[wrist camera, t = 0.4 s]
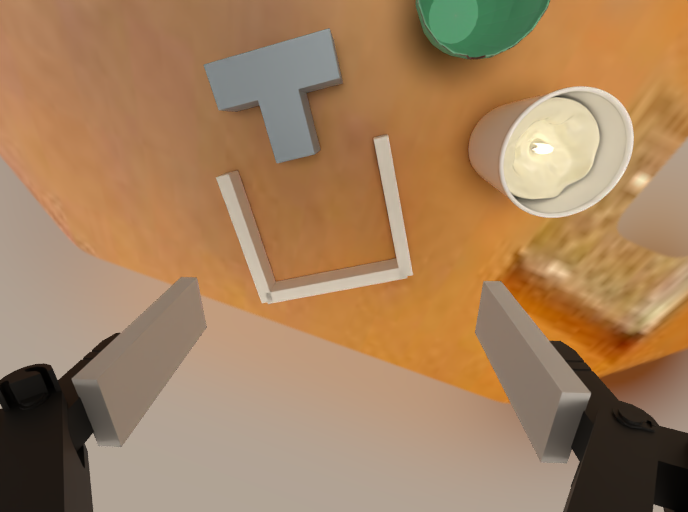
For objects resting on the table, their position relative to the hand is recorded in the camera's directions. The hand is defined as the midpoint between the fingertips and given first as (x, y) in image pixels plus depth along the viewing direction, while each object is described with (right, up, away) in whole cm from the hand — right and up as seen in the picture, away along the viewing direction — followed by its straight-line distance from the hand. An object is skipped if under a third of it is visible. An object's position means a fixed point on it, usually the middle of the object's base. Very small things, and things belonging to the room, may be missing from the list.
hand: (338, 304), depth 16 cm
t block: (-6, +19, +21) cm, 29 cm away
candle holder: (+18, +15, +22) cm, 32 cm away
